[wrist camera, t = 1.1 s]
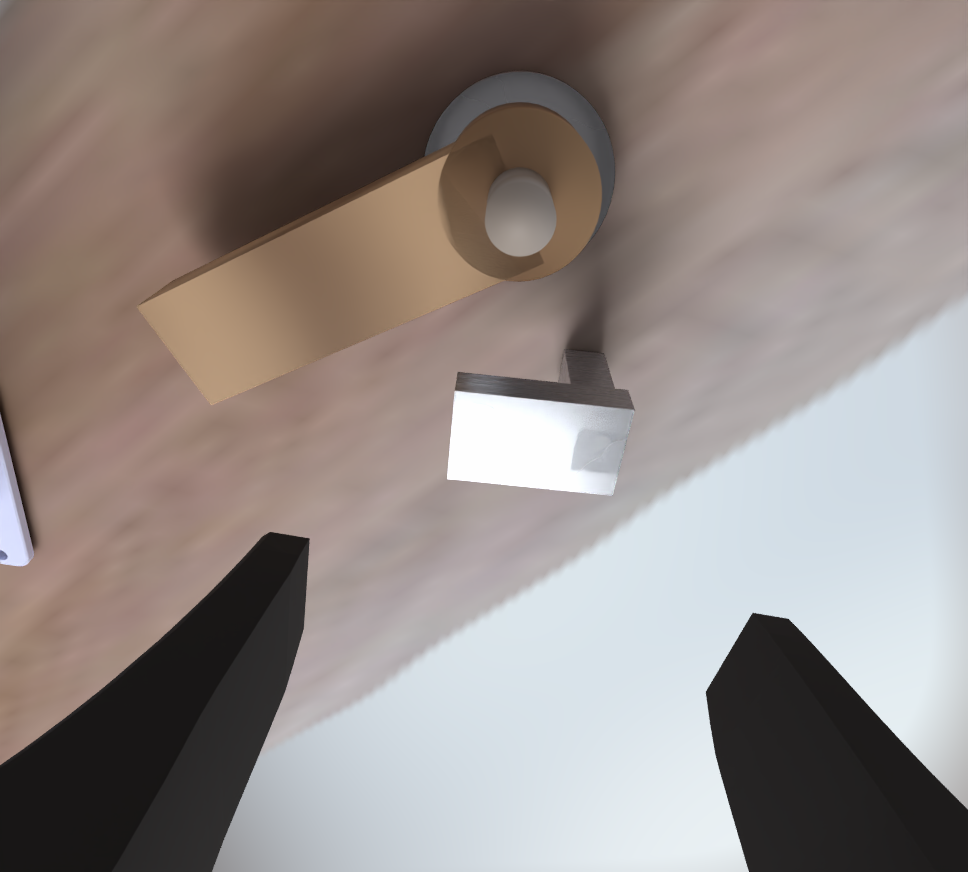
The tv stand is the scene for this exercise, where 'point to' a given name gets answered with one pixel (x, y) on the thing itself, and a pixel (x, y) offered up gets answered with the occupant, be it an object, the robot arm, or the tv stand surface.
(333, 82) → the tv stand surface
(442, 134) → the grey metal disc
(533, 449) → the block
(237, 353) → the link
